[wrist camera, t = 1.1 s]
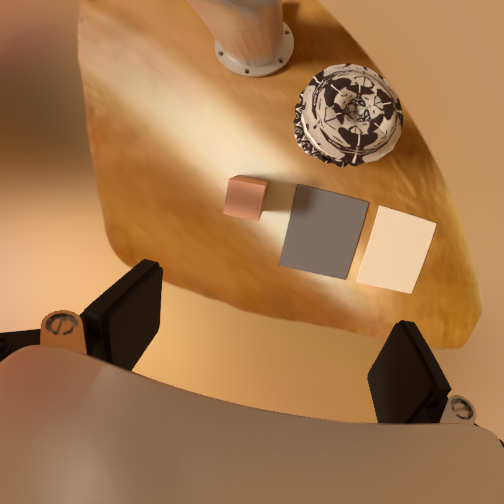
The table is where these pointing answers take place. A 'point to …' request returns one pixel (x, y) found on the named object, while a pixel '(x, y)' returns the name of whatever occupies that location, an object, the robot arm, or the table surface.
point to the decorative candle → (348, 116)
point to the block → (245, 197)
